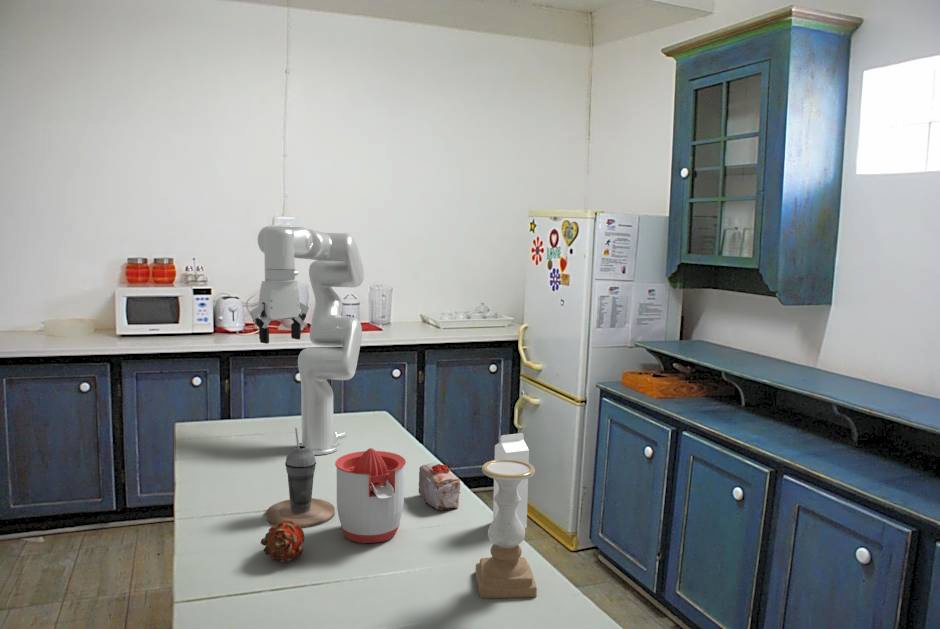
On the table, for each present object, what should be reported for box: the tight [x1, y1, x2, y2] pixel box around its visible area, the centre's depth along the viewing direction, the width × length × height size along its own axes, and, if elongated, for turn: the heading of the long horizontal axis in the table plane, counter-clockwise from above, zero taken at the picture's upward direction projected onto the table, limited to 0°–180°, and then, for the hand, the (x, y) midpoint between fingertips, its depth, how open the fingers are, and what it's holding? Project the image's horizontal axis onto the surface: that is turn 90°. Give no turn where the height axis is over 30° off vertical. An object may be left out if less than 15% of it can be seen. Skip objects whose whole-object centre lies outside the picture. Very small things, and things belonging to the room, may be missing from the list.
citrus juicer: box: [334, 447, 407, 544], centre depth 167 cm, size 16×17×20 cm
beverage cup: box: [284, 427, 317, 513], centre depth 178 cm, size 7×7×20 cm
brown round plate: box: [265, 497, 336, 529], centre depth 179 cm, size 16×16×1 cm
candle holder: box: [474, 459, 538, 599], centre depth 146 cm, size 11×11×24 cm
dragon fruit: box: [260, 520, 305, 563], centre depth 156 cm, size 8×8×12 cm
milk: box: [492, 432, 530, 529], centre depth 174 cm, size 6×6×22 cm
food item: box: [418, 462, 461, 511], centre depth 188 cm, size 14×8×10 cm, turn 26°
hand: (280, 340), depth 196 cm, fingers open, 9 cm apart
